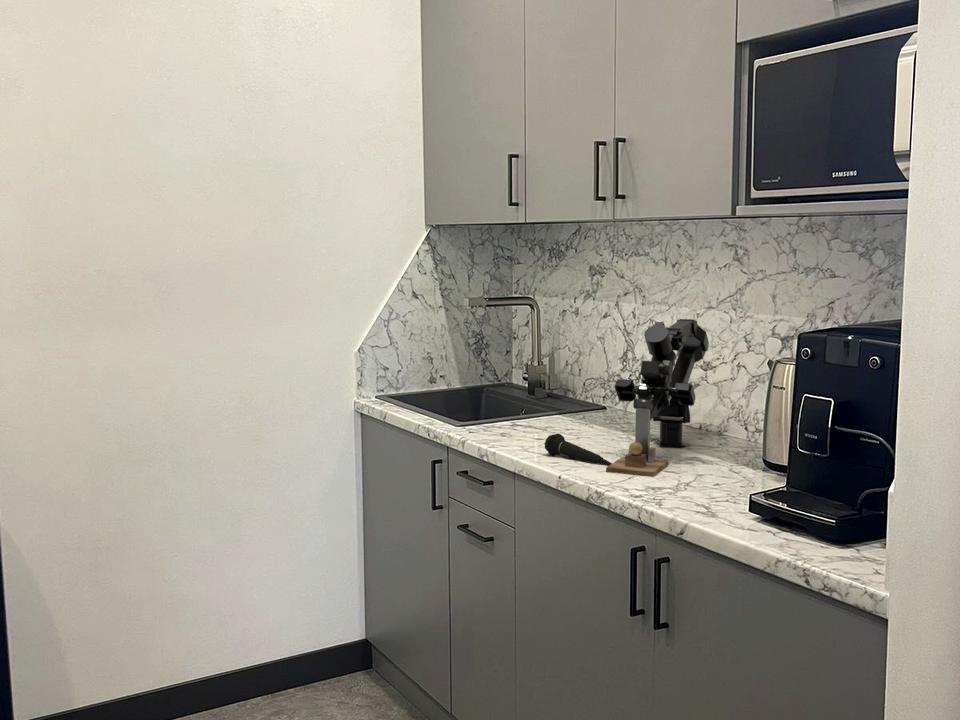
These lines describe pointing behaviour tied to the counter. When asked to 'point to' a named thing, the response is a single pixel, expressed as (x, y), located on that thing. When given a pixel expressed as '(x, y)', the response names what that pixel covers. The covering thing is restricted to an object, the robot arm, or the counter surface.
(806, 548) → the counter surface
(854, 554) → the counter surface
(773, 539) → the counter surface
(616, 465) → the nutcracker base
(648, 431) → the lever
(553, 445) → the microphone
